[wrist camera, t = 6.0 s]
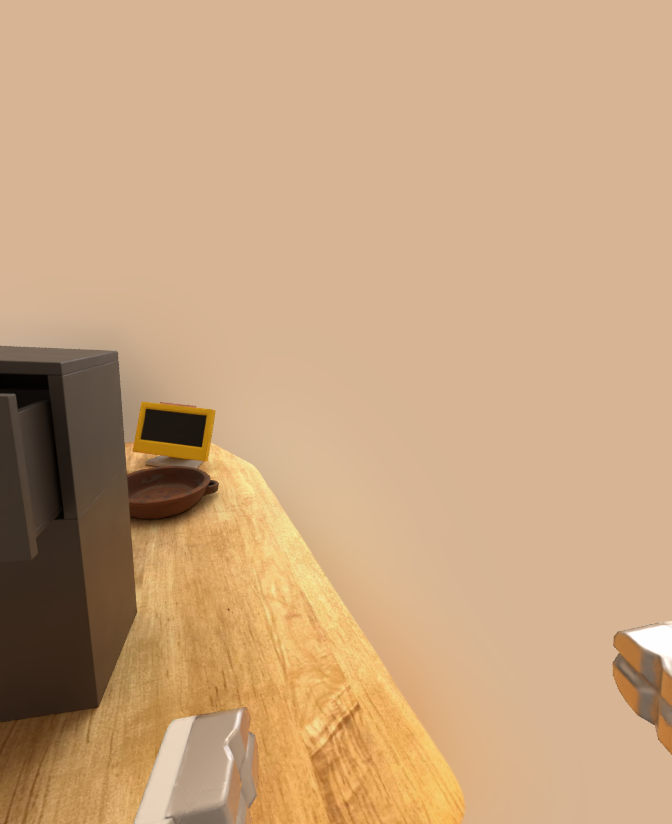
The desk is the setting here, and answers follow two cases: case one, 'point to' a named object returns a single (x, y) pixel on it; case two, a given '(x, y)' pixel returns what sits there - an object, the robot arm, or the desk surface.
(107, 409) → the cabinet
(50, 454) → the drawer
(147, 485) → the dish
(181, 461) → the toy computer monitor
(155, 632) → the desk surface
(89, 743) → the desk surface
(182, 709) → the desk surface
